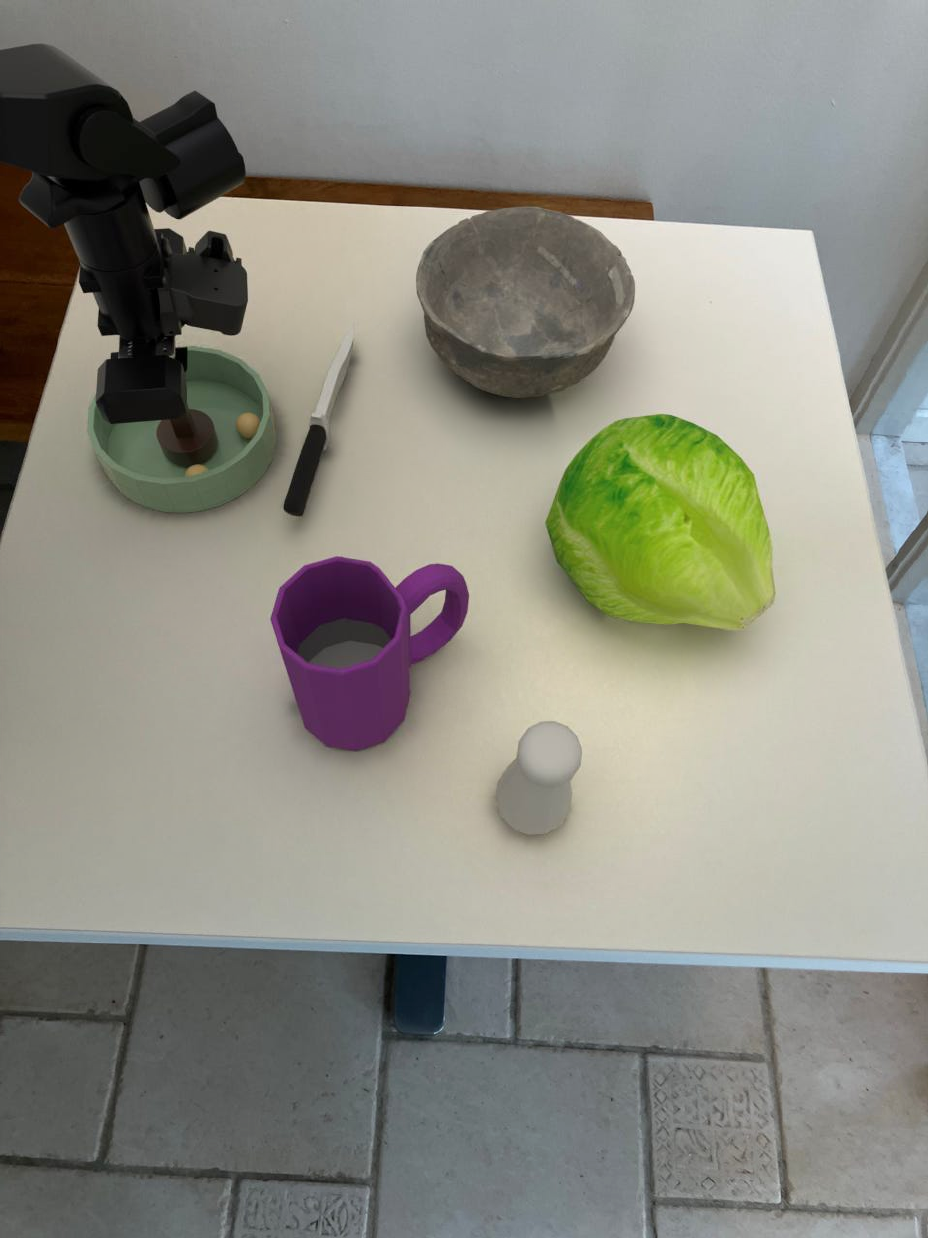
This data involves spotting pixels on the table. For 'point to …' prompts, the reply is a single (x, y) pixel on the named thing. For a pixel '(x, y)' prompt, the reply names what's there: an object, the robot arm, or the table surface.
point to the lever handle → (188, 438)
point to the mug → (359, 643)
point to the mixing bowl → (233, 467)
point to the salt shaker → (540, 779)
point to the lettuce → (664, 526)
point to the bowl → (523, 299)
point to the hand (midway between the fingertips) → (171, 395)
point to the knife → (318, 431)
